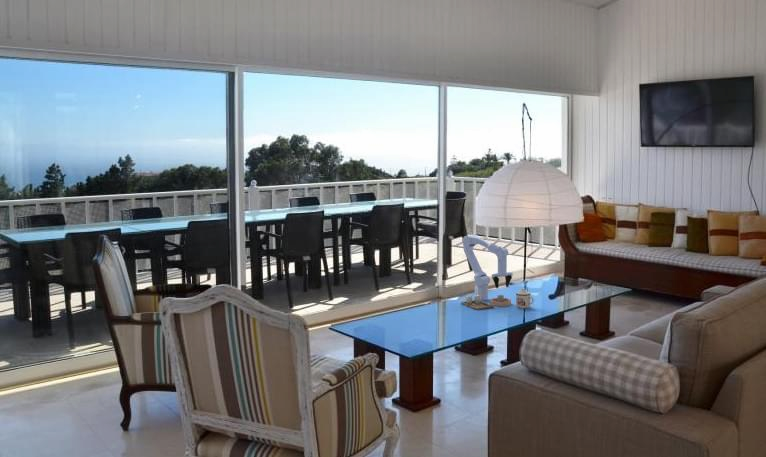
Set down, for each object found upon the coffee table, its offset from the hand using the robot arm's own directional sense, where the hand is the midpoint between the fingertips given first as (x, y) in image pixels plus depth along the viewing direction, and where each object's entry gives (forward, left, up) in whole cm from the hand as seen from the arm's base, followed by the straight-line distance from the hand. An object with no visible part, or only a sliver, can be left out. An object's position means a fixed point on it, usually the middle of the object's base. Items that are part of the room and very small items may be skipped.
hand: (502, 287), depth 463 cm
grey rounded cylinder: (+6, -5, -9) cm, 12 cm away
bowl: (+6, -5, -10) cm, 12 cm away
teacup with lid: (+19, +5, -10) cm, 22 cm away
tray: (+4, -21, -10) cm, 23 cm away
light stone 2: (-1, -18, -9) cm, 20 cm away
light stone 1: (-1, -24, -9) cm, 26 cm away
